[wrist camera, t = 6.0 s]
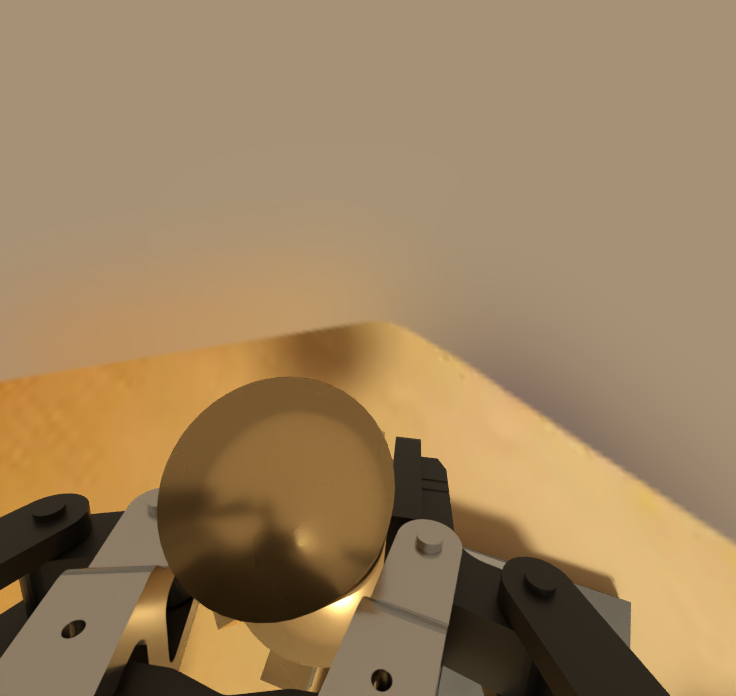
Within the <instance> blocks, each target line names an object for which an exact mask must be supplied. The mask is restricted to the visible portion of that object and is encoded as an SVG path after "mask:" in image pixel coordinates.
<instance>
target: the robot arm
mask: <svg viewBox="0 0 736 696" xmlns="http://www.w3.org/2000/svg"><path fill="white" fill-rule="evenodd" d="M393 469H394V479H395V494H394V505H393V510H392V515H391V520H390V524H389V528H388V532H387V536H386V545H385V555H384V566H383V568H382V571H381V573H380V576H379V578H378V580H377V583H376V585H375V588H374V590H373V592H372V595H371V597H367V596H364V597H362V599H361V600H360V602H359V604H358V606H357V608H356V611H355V613H354V615H353V617H352V620H351V622H350V624H349V626H348V629H347V631H346V633H345V635H344V638H343V640H342V642H341V645H340V647H339V649H338V651H337V654H336V656H335V658H334V660H333V663H332V665H331V667H330V670H329V672H328V674H327V676H326V679H325V681H324V683H323V685H322V688H321V690H320V692H319V693H315V692H309V691H303V690H297V689H284V690H274V691H265V692H256V693H247V694H238V695H223V694H220V693H218V692H216V691H214V690H212V689H211V688H209V687H207V686H205V685H203V684H201V683H199V682H198V681H196V680H194V679H192V678H190V677H188V676H186V675H185V674H183V673H181V672H179V671H178V670H179V667H180V664H181V660H182V657H183V654H184V651H185V647H186V644H187V641H188V637H189V634H190V631H191V627H192V624H193V621H194V617H195V614H196V611H197V608H198V604H199V602H198V601H197V600H195V599H194V598H193V597H192V596H191V595H190V594H189V593H188V592H187V591H186V590H185V589H184V588H183V587H182V586H181V584H180V583H179V581H178V580H177V579H176V577H175V576H174V574H173V573H172V571H171V569H170V567H169V565H168V563H167V561H166V559H165V556H164V553H163V550H162V547H161V544H160V539H159V533H158V527H157V502H158V492H159V488H156V489H153V490H150V491H148V492H145V493H143V494H142V495H140V496H138V497H137V498H135V499H134V500H133V501H132V502H131V503H130V504H129V506H128V507H127V509H126V510H125V511H121V512H109V513H98V514H91V513H90V506H89V501H88V499H87V498H85V497H84V496H82V495H78V494H71V493H70V494H58V495H53V496H49V497H45V498H42V499H39V500H37V501H34V502H32V503H30V504H28V505H26V506H24V507H22V508H19V509H17V510H15V511H13V512H11V513H9V514H7V515H5V516H3V517H0V590H1V589H3V588H4V587H6V586H8V585H9V584H11V583H13V582H14V581H16V580H18V579H19V582H20V587H21V592H22V597H23V600H22V601H21V602H19V603H18V604H16V605H15V606H13V607H11V608H10V609H8V610H7V611H5V612H4V613H2V614H0V696H438V692H439V686H440V681H441V675H442V670H443V666H445V667H447V668H449V669H451V670H452V671H454V672H456V673H458V674H460V675H462V676H464V677H466V678H468V679H470V680H472V681H474V682H476V683H478V684H480V685H481V687H482V691H483V694H484V696H670V695H669V694H668V692H667V691H666V690H665V689H664V688H663V687H662V685H661V684H660V683H659V682H658V681H657V680H656V678H655V677H654V676H653V675H652V674H651V673H650V671H649V670H648V669H647V668H646V667H645V666H644V665H643V663H642V662H641V661H640V660H639V659H638V658H637V656H636V655H635V654H634V653H633V652H632V651H631V649H630V648H629V647H628V646H627V645H626V644H625V643H624V641H623V640H622V639H621V638H620V637H619V636H618V634H617V633H616V632H615V631H614V630H613V629H612V627H611V626H610V625H609V624H608V623H607V622H606V620H605V619H604V618H603V617H602V616H601V615H600V614H599V612H598V611H597V610H596V609H595V608H594V607H593V605H592V604H591V603H590V602H589V601H588V600H587V598H586V597H585V596H584V595H583V594H582V593H581V591H580V590H579V589H578V588H577V587H576V586H575V585H574V583H573V582H572V581H571V580H570V579H569V578H568V577H567V576H566V575H565V574H564V573H563V572H562V571H561V570H559V569H558V568H556V567H555V566H553V565H551V564H549V563H547V562H545V561H542V560H539V559H536V558H531V557H517V558H513V559H511V560H509V561H508V562H506V564H505V565H504V566H503V569H500V568H498V567H495V566H492V565H490V564H487V563H485V562H483V561H480V560H478V559H477V558H475V557H473V556H472V555H470V554H469V553H468V552H467V551H466V550H464V549H463V548H462V543H461V541H460V538H459V537H458V535H457V534H456V533H455V532H454V527H453V519H452V511H451V504H450V496H449V488H448V480H447V472H446V469H445V468H444V466H443V465H442V464H441V462H440V461H439V460H438V459H436V458H428V457H421V440H420V439H412V438H404V437H396V442H395V452H394V462H393Z"/></svg>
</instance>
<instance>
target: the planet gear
mask: <svg viewBox="0 0 736 696" xmlns="http://www.w3.org/2000/svg"><path fill="white" fill-rule="evenodd" d="M393 462H394V460H393V459H392V458H391V454H390V451H389V448H388V445H387V442H386V440H385V432H383V431H381V430H380V428H379V427H378V425H377V423H376V422H375V420H374V419H373V418H372V416H371V415H370V414H369V413H368V412H367V410H366V409H365V408H364V407H363V406H362V405H361V404H359V403H358V402H357V401H356V400H355V399H354V398H352V397H351V396H349V395H348V394H346V393H345V392H344V391H342V390H340V389H338V388H336V387H334V386H332V385H329V384H326V383H324V382H321V381H317V380H313V379H308V378H300V377H277V378H270V379H264V380H260V381H256V382H253V383H250V384H247V385H245V386H242V387H239V388H237V389H235V390H234V391H232V392H230V393H228V394H226V395H224V396H223V397H221V398H220V399H218V400H217V401H215V402H214V403H213V404H211V405H210V406H209V407H208V408H207V409H205V410H204V411H203V412H202V413H201V414H200V415H199V416H198V417H197V418H196V419H195V420H194V421H193V422H192V423H191V424H190V426H189V427H188V428H187V429H186V431H185V432H184V433H183V435H182V436H181V438H180V439H179V441H178V442H177V444H176V446H175V447H174V449H173V451H172V453H171V455H170V457H169V459H168V462H167V464H166V467H165V470H164V473H163V476H162V479H161V483H160V488H159V492H158V502H157V527H158V533H159V539H160V544H161V547H162V550H163V553H164V556H165V559H166V561H167V563H168V565H169V567H170V569H171V571H172V573H173V574H174V576H175V577H176V579H177V580H178V581H179V583H180V584H181V586H182V587H183V588H184V589H185V590H186V591H187V592H188V593H189V594H190V595H191V596H192V597H193V598H194V599H195V600H197V601H198V602H199V603H201V604H202V605H204V606H205V607H206V608H208V609H210V610H212V611H213V613H214V617H215V620H216V624H217V627H218V629H222V628H226V627H229V626H233V625H236V624H237V623H239V622H241V621H243V622H245V624H246V625H247V626H248V628H249V629H250V630H251V632H252V633H253V634H254V635H255V636H256V637H257V638H258V639H259V640H260V641H261V642H262V643H263V644H264V645H265V646H266V647H268V648H269V649H270V653H269V656H268V659H267V661H266V664H265V667H264V670H263V673H262V676H261V678H260V680H263V681H265V682H268V683H270V684H272V685H275V686H277V687H279V688H282V689H297V690H303V691H308V690H309V689H310V687H311V685H312V683H313V679H314V676H315V673H316V669H317V667H319V668H328V667H331V665H332V663H333V660H334V658H335V656H336V654H337V651H338V649H339V647H340V645H341V642H342V640H343V638H344V635H345V633H346V631H347V629H348V626H349V624H350V622H351V620H352V617H353V615H354V613H355V611H356V608H357V606H358V604H359V602H360V600H361V599H362V597H364V596H367V597H371V595H372V592H373V590H374V588H375V585H376V583H377V580H378V578H379V576H380V573H381V571H382V568H383V566H384V555H385V545H386V536H387V532H388V528H389V524H390V520H391V515H392V510H393V505H394V494H395V479H394V469H393Z"/></svg>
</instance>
